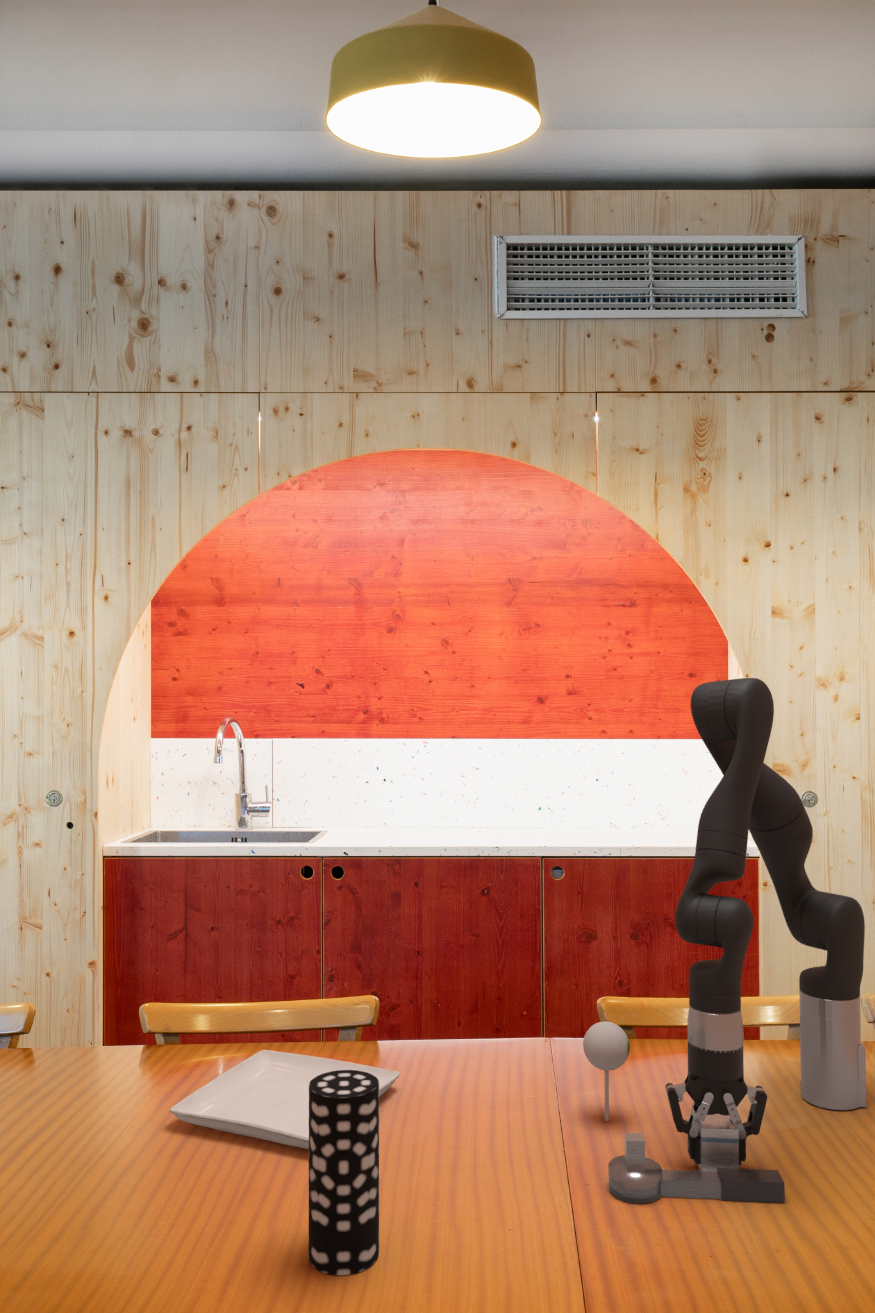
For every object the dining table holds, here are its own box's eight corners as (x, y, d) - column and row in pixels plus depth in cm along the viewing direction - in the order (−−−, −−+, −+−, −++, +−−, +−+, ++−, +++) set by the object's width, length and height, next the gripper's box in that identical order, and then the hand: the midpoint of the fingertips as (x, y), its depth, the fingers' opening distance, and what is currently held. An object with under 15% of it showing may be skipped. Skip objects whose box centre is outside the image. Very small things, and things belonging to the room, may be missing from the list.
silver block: (731, 1160, 139) (731, 1114, 139) (739, 1178, 134) (738, 1130, 134) (694, 1159, 139) (694, 1112, 139) (701, 1176, 134) (700, 1128, 134)
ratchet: (774, 1183, 132) (773, 1130, 133) (788, 1210, 125) (787, 1155, 126) (606, 1176, 134) (606, 1124, 135) (610, 1203, 127) (610, 1148, 128)
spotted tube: (310, 1237, 120) (310, 1071, 120) (378, 1233, 120) (378, 1069, 121) (306, 1278, 111) (307, 1099, 112) (379, 1274, 112) (379, 1096, 113)
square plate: (165, 1133, 149) (165, 1107, 149) (263, 1068, 174) (263, 1046, 174) (323, 1165, 138) (323, 1138, 138) (402, 1092, 164) (402, 1068, 164)
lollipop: (630, 1133, 147) (629, 1032, 148) (582, 1128, 149) (581, 1029, 149) (630, 1113, 154) (629, 1016, 155) (584, 1109, 156) (584, 1013, 156)
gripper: (761, 1031, 140) (762, 1152, 140) (659, 1028, 141) (660, 1148, 141) (774, 1050, 133) (776, 1178, 132) (667, 1047, 134) (668, 1173, 133)
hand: (716, 1162), depth 137 cm, fingers closed on silver block, 5 cm apart
